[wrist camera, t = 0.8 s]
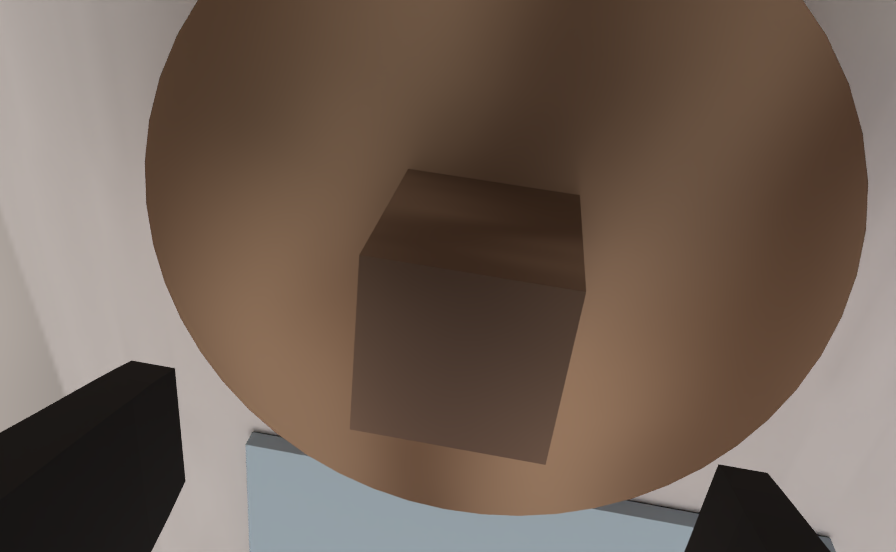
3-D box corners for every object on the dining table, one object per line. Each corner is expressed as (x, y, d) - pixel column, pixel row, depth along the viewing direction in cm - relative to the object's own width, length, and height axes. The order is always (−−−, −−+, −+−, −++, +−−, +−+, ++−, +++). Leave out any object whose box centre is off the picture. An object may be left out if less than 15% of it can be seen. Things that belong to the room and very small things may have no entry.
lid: (1001, -92, 12) (1240, -88, 7) (727, 544, 19) (773, 721, 15) (123, -197, 13) (-82, -242, 9) (183, 443, 20) (86, 582, 16)
